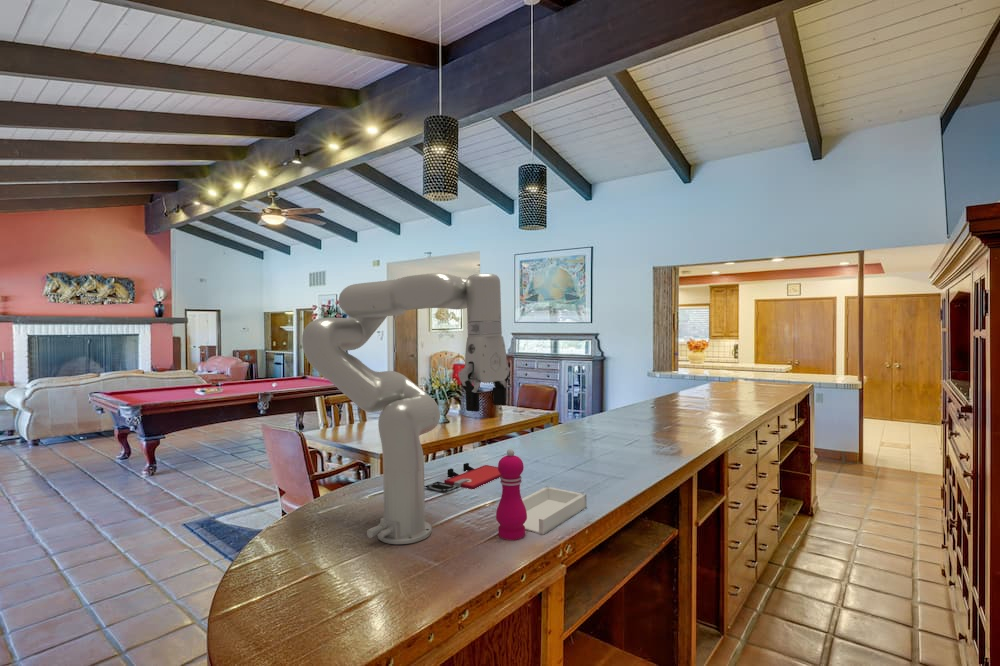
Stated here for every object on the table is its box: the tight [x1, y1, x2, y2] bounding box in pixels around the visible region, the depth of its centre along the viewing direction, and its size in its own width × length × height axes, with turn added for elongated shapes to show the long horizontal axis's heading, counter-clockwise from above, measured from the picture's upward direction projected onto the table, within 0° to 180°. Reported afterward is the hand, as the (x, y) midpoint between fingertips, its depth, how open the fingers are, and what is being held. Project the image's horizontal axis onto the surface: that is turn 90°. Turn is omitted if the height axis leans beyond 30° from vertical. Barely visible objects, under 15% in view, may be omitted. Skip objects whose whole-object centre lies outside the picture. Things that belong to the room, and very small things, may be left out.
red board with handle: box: [424, 462, 502, 493], centre depth 160 cm, size 30×3×15 cm
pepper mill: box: [495, 448, 527, 541], centre depth 116 cm, size 7×7×20 cm
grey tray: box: [521, 486, 588, 536], centre depth 128 cm, size 22×12×4 cm, turn 143°
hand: (486, 407), depth 109 cm, fingers open, 9 cm apart
